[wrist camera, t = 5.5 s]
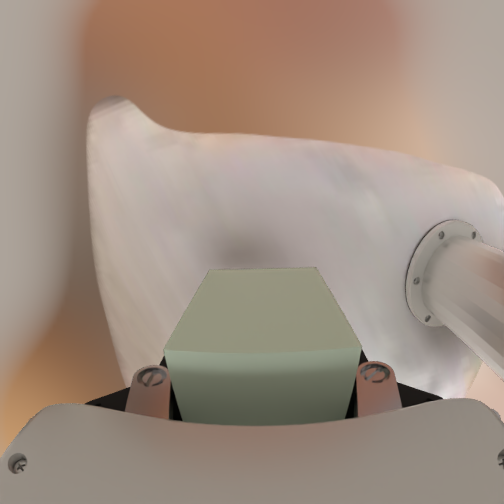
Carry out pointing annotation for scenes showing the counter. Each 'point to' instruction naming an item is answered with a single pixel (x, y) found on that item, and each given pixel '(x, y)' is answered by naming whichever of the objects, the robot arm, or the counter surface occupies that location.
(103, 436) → the robot arm
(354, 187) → the counter surface
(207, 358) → the sage block
